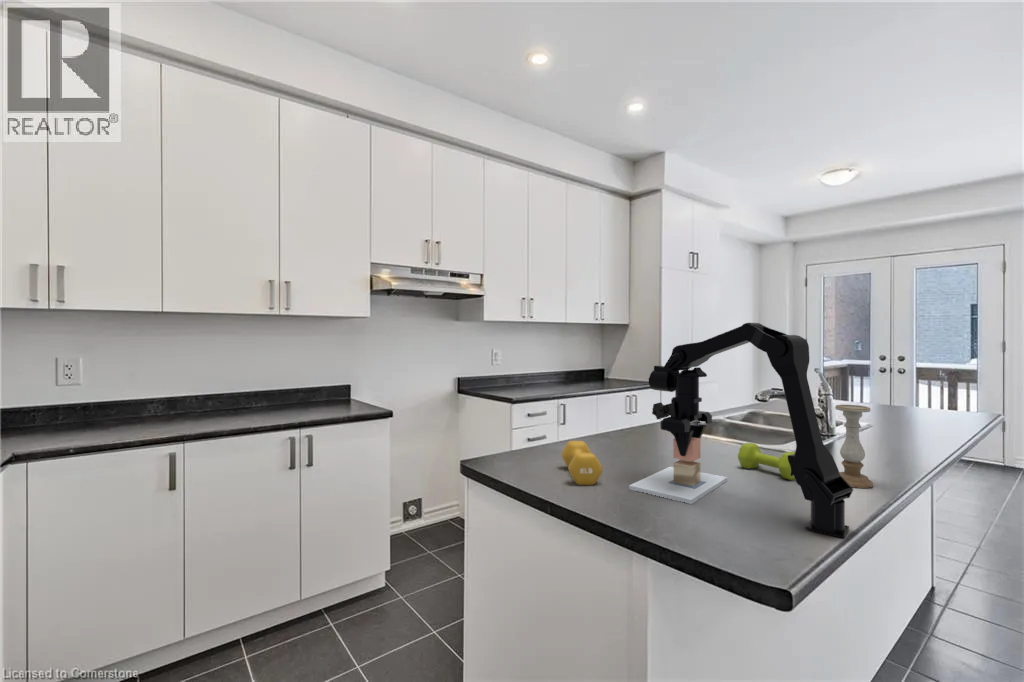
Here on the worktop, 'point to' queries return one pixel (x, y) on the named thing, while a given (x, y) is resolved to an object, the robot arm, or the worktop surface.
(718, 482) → the blueprint board
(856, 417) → the candle holder
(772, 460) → the dumbbell
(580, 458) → the dumbbell
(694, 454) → the coral block
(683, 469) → the maple block
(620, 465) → the worktop surface
